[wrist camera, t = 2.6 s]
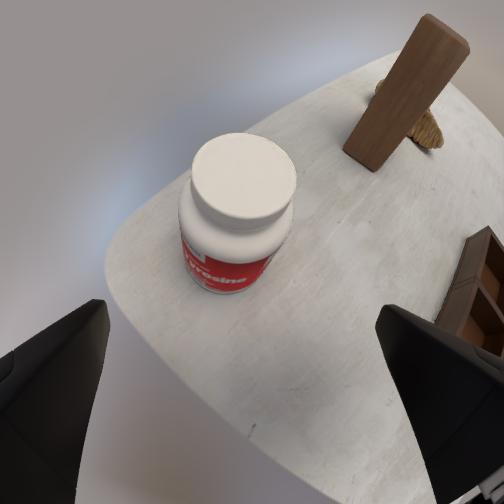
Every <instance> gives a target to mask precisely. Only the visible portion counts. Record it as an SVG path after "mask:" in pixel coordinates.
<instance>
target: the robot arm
mask: <svg viewBox="0 0 504 504" xmlns="http://www.w3.org/2000/svg"><path fill="white" fill-rule="evenodd" d="M375 330H376V333H377V336H378V339H379V342H380V345H381V348H382V351H383V354H384V357H385V360H386V363H387V366H388V369H389V371H390V373H391V376H392V378H393V380H394V383H395V385H396V388H397V390H398V392H399V395H400V397H401V400H402V402H403V405H404V407H405V410H406V412H407V415H408V418H409V420H410V423H411V426H412V428H413V431H414V434H415V436H416V439H417V442H418V445H419V448H420V451H421V453H422V456H423V459H424V461H425V462H424V463H425V466H426V469H427V472H428V475H429V478H430V482H431V485H432V488H433V492H434V495H435V499H436V502H437V504H450V503H451V502H453V501H454V500H456V499H458V498H459V497H461V496H462V495H464V494H465V493H467V492H468V491H470V490H471V489H473V488H474V487H475V486H477V485H478V487H479V489H480V490H481V492H480V493H478V494H477V495H476V496H474V497H473V498H472V499H470V500H469V501H468V502H466V503H465V504H504V359H502V358H500V357H498V356H496V355H494V354H492V353H489V352H487V351H485V350H483V349H481V348H479V347H478V346H476V345H474V344H471V343H470V342H468V341H466V340H464V339H462V338H460V337H458V336H456V335H454V334H452V333H450V332H448V331H446V330H444V329H442V328H440V327H438V326H436V325H434V324H432V323H430V322H429V321H427V320H425V319H423V318H421V317H419V316H417V315H415V314H413V313H411V312H409V311H407V310H405V309H403V308H401V307H399V306H397V305H394V304H389V305H384V306H383V307H382V309H381V311H380V314H379V316H378V319H377V321H376V325H375ZM109 332H110V319H109V314H108V310H107V305H106V302H105V301H104V300H98V299H92V300H90V301H89V302H87V303H86V304H84V305H82V306H81V307H79V308H77V309H76V310H74V311H72V312H71V313H69V314H68V315H66V316H65V317H63V318H61V319H60V320H58V321H57V322H55V323H53V324H52V325H50V326H49V327H47V328H46V329H44V330H43V331H41V332H39V333H38V334H36V335H35V336H33V337H32V338H30V339H29V340H27V341H26V342H24V343H23V344H21V345H20V346H18V347H17V348H16V349H14V351H11V352H9V353H8V354H6V355H5V356H3V357H2V358H0V504H75V496H76V487H77V481H78V474H79V468H80V462H81V457H82V451H83V446H84V441H85V437H86V432H87V427H88V423H89V419H90V415H91V410H92V406H93V402H94V399H95V395H96V391H97V387H98V384H99V380H100V376H101V373H102V369H103V364H104V358H105V352H106V347H107V342H108V336H109Z"/></svg>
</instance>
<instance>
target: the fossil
mask: <svg viewBox="0 0 504 504" xmlns="http://www.w3.org/2000/svg"><path fill="white" fill-rule="evenodd" d="M384 80H385V79H383V80H381V81H380V82H379V83H378V85H377V86H376V89H375V92H376V93H377V91H378V90H379V88H380V87H381V85H382V83H383V82H384ZM375 95H376V94H375ZM407 135H408V136H410V137H413V138H414V141H415V142H419V144H420V145H421V146H424V147H425V148H428V149H432V148H434V149H436V148H441V147H442V145H443V144H444V140H443V136H442V133H441V130H440V129H439V127H438V125H437V123H436V120H435V119H434V116H433V115H432V114H431V112H430V108H428V109H427V110H426V112H425V113H424V114H423V116H422V117H421V118H420V119H419V121H418V122H417V123H416V124H415V126H414V127H413V128H412V129H411V131H410V132H409V133H408V134H407Z"/></svg>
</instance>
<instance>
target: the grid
mask: <svg viewBox="0 0 504 504" xmlns="http://www.w3.org/2000/svg"><path fill="white" fill-rule="evenodd" d="M434 325H436V326H438V327H440V328H442V329H444V330H446V331H448V332H450V333H452V334H454V335H456V336H458V337H460V338H462V339H464V340H466V341H468V342H470V343H471V344H474V345H476V346H478V347H479V348H481V349H483V350H485V351H487V352H489V353H492V354H494V355H496V356H498V357H500V358H502V359H504V246H503V245H502V244H501V242H500V241H499V239H498V238H497V236H496V235H495V234H494V232H493V231H492V229H491V228H490V227H489V226H487V227H485V228H483V229H482V230H480V231H479V232H477V233H475V234H474V235H472V236H470V237H469V238H467V241H466V244H465V247H464V250H463V253H462V256H461V259H460V262H459V265H458V268H457V271H456V273H455V276H454V279H453V281H452V284H451V287H450V289H449V292H448V294H447V296H446V299H445V301H444V304H443V306H442V308H441V310H440V313H439V315H438V317H437V319H436V321H435V323H434Z"/></svg>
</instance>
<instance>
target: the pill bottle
mask: <svg viewBox="0 0 504 504" xmlns="http://www.w3.org/2000/svg"><path fill="white" fill-rule="evenodd" d="M296 182H297V178H296V171H295V168H294V165H293V163H292V161H291V160H290V158H289V157H288V155H287V154H286V153H285V152H284V151H283V150H282V149H281V148H280V147H279V146H277V145H276V144H275V143H273V142H271V141H269V140H267V139H265V138H263V137H260V136H257V135H253V134H246V133H231V134H225V135H221V136H219V137H216V138H214V139H212V140H210V141H208V142H207V143H206V144H205V145H203V146H202V148H201V149H200V150H199V151H198V152H197V154H196V156H195V158H194V160H193V163H192V168H191V176H190V177H189V178H188V180H187V181H186V183H185V184H184V186H183V188H182V190H181V194H180V197H179V204H178V217H179V223H180V230H181V238H182V244H183V251H184V258H185V263H186V266H187V269H188V271H189V273H190V275H191V276H192V277H193V279H194V280H195V281H196V282H197V283H198V284H200V285H201V286H202V287H204V288H205V289H207V290H209V291H212V292H215V293H220V294H232V293H237V292H240V291H243V290H245V289H246V288H248V287H249V286H251V285H252V284H253V283H254V282H255V281H256V280H257V279H258V278H259V277H260V275H261V274H262V273H263V271H264V270H265V268H266V267H267V265H268V264H269V263H270V261H271V260H272V258H273V257H274V256H275V254H276V253H277V251H278V250H279V248H280V247H281V246H282V244H283V243H284V241H285V240H286V238H287V236H288V234H289V232H290V230H291V227H292V224H293V219H294V205H293V200H292V197H293V195H294V192H295V189H296Z"/></svg>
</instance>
